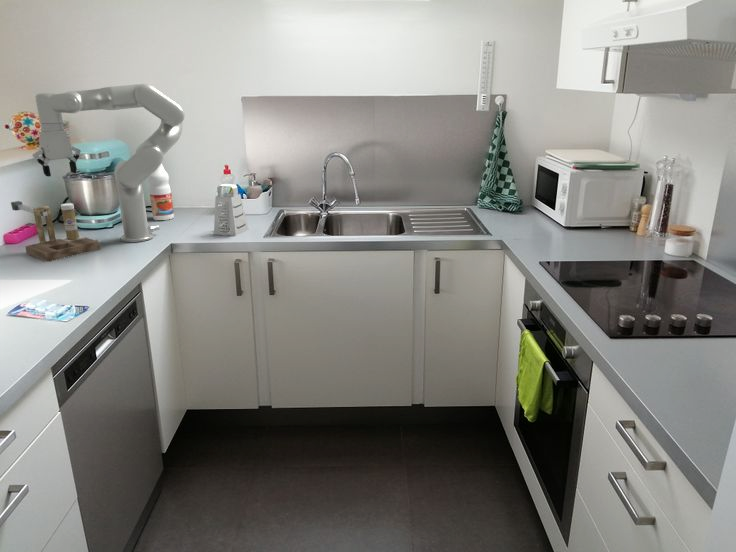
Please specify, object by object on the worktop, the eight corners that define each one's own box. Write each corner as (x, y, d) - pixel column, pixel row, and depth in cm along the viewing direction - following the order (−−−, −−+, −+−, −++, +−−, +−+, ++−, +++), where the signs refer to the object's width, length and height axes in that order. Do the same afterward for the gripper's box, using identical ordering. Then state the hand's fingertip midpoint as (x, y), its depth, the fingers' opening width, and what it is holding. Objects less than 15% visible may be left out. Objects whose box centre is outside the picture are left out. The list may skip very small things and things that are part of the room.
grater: (235, 235, 244) (231, 187, 238) (213, 234, 247) (209, 186, 241) (248, 229, 254) (244, 183, 247) (227, 228, 257) (222, 182, 250)
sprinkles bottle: (67, 240, 229) (61, 205, 224) (66, 237, 232) (59, 203, 228) (80, 238, 231) (74, 204, 227) (78, 235, 235) (72, 202, 230)
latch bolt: (20, 208, 239) (18, 201, 239) (50, 216, 224) (48, 209, 223) (12, 209, 237) (10, 202, 236) (41, 218, 222) (40, 210, 221)
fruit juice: (165, 215, 281) (157, 156, 272) (178, 217, 276) (171, 157, 267) (148, 219, 274) (140, 158, 264) (162, 222, 269) (154, 160, 259)
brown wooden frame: (78, 242, 238) (71, 201, 233) (100, 249, 228) (93, 207, 223) (26, 253, 223) (17, 211, 218) (47, 261, 213) (38, 217, 208)
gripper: (70, 125, 226) (78, 170, 232) (23, 129, 214) (33, 176, 219) (80, 126, 222) (88, 172, 228) (32, 130, 209) (42, 178, 215)
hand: (61, 174), depth 223 cm, fingers open, 9 cm apart
